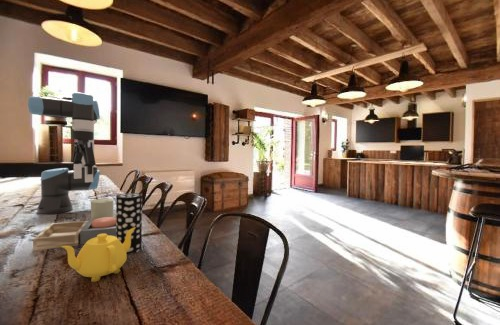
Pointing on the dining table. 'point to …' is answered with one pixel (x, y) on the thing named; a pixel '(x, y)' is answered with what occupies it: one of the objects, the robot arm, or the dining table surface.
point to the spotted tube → (129, 219)
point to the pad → (104, 222)
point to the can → (101, 208)
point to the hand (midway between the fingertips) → (83, 180)
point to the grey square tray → (94, 232)
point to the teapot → (100, 256)
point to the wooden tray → (59, 235)
